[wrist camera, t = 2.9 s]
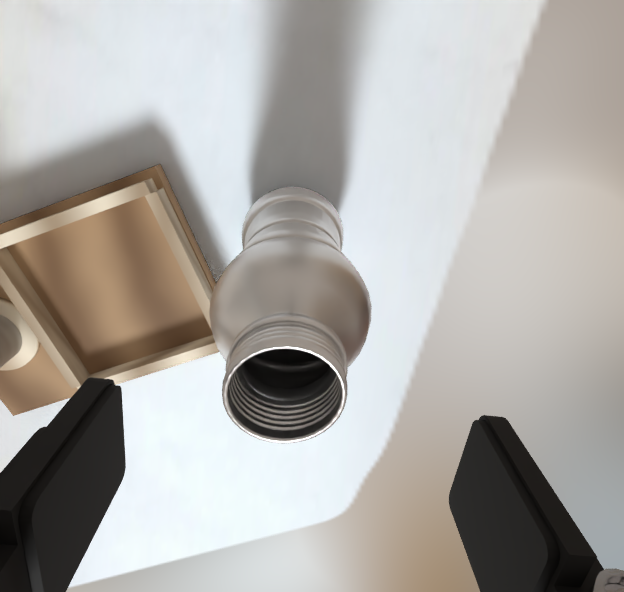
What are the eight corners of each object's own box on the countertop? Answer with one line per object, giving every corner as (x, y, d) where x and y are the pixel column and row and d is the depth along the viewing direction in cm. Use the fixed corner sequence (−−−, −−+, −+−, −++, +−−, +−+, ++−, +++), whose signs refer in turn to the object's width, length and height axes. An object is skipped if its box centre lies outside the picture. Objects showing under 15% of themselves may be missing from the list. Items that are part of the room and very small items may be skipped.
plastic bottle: (238, 187, 30) (139, 313, 12) (335, 173, 30) (392, 280, 11) (255, 274, 32) (196, 490, 14) (345, 262, 32) (404, 465, 14)
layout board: (160, 164, 29) (87, 192, 19) (240, 336, 34) (216, 428, 25) (-91, 258, 31) (-272, 327, 21) (21, 406, 37) (-82, 516, 27)
